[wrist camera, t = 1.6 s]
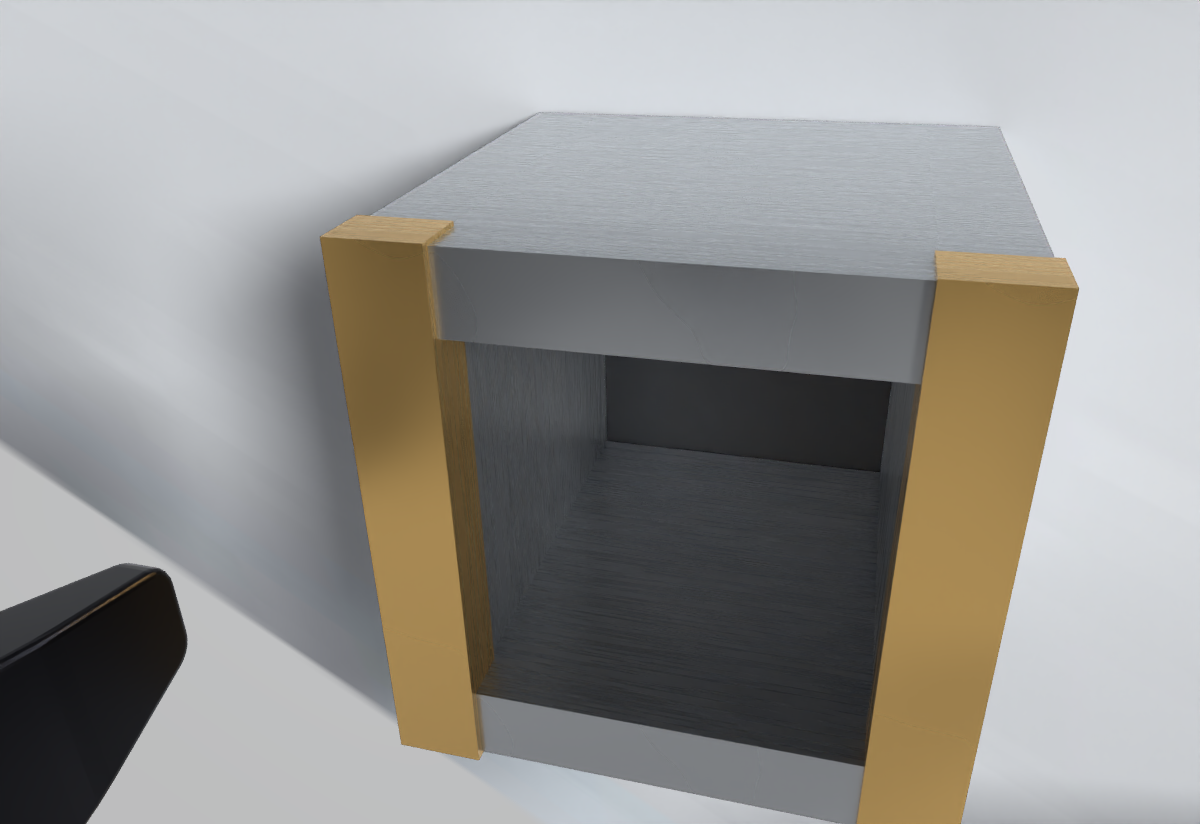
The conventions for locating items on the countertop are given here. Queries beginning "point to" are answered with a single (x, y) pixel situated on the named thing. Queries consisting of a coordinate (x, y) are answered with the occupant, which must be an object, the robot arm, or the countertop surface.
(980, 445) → the open cube shelf
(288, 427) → the countertop surface
